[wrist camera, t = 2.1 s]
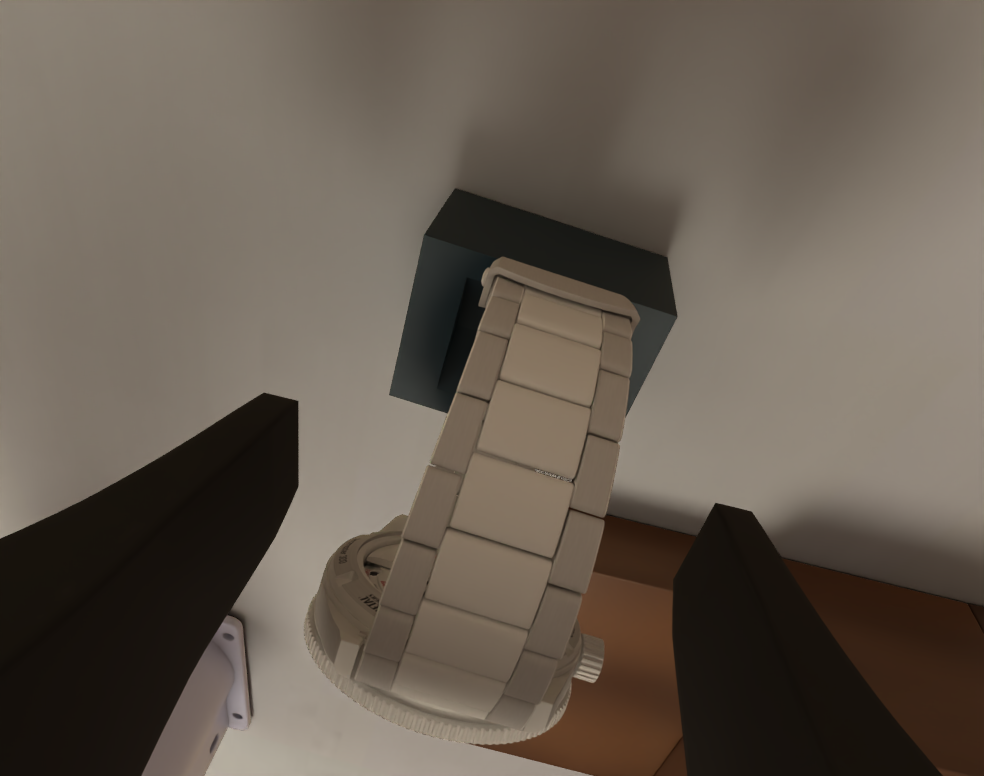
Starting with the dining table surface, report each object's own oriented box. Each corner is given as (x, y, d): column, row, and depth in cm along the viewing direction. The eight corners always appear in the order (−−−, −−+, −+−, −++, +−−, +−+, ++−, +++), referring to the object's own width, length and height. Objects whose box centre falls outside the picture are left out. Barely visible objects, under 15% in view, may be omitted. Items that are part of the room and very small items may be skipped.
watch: (407, 385, 19) (230, 763, 10) (472, 114, 15) (249, 380, 6) (583, 441, 19) (558, 861, 11) (703, 190, 15) (839, 564, 6)
